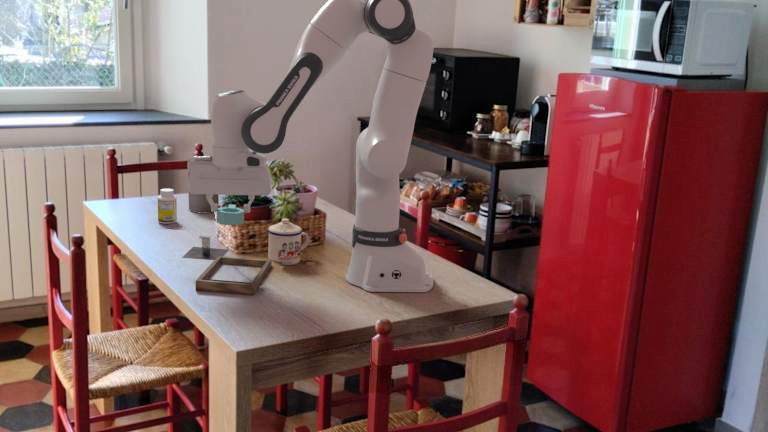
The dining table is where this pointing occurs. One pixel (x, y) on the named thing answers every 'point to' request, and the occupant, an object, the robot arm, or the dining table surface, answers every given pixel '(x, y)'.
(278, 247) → the teacup with lid
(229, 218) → the teal ring
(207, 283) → the walnut tray
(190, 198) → the pillar candle
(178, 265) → the dining table surface
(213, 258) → the post stand
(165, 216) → the supplement bottle
